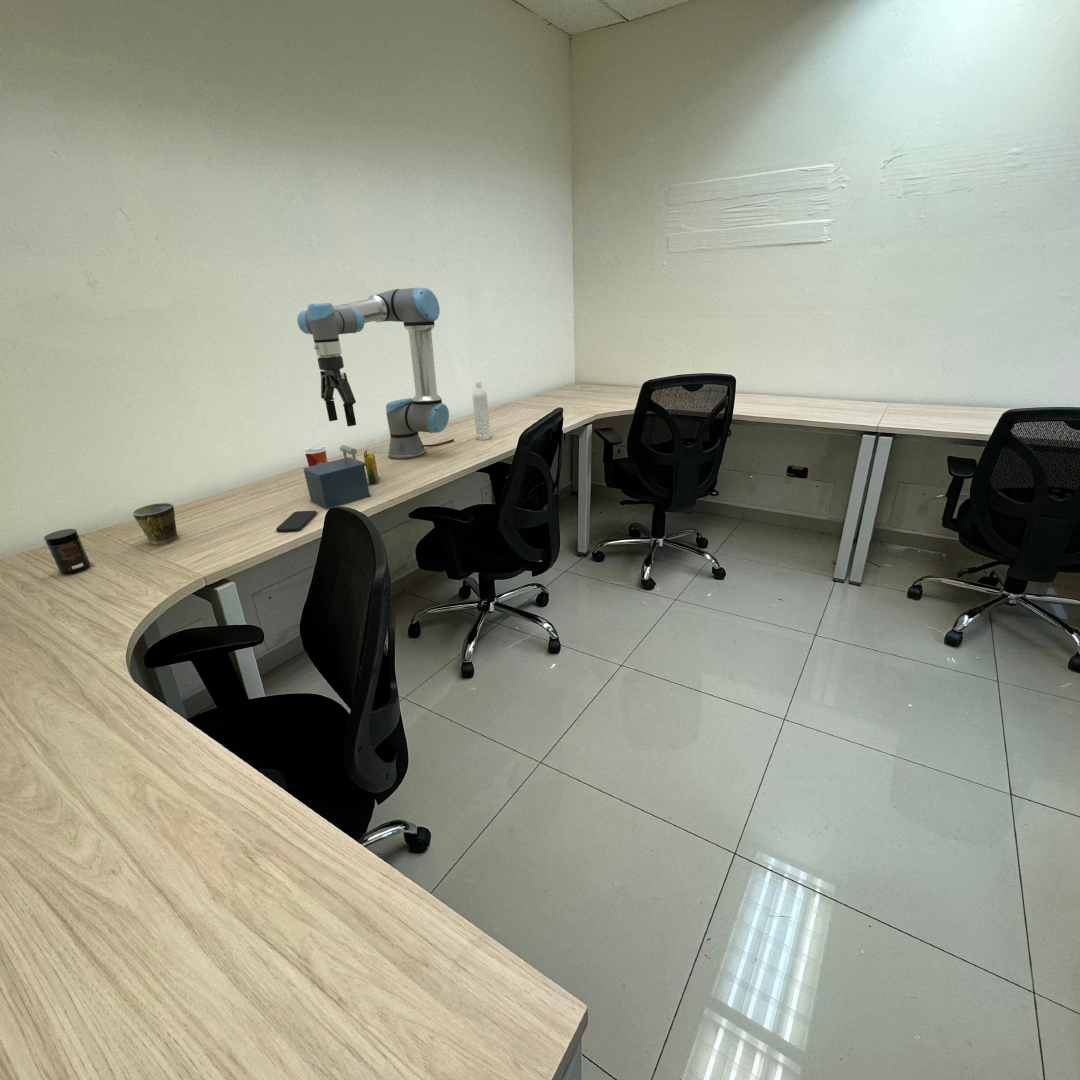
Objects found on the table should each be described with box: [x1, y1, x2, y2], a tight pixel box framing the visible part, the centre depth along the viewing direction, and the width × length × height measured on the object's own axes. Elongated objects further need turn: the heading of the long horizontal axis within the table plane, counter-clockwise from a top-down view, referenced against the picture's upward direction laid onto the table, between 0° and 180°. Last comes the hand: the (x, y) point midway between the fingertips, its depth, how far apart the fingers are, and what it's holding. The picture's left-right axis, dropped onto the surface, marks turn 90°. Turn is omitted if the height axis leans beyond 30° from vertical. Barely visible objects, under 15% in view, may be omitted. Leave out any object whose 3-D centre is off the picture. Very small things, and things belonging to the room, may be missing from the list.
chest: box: [303, 466, 371, 510], centre depth 187 cm, size 16×13×11 cm
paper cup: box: [303, 444, 328, 467], centre depth 203 cm, size 8×8×14 cm
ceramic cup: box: [132, 502, 178, 546], centre depth 160 cm, size 13×10×10 cm
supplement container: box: [43, 528, 91, 575], centre depth 146 cm, size 7×7×10 cm
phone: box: [275, 510, 317, 532], centre depth 171 cm, size 7×1×15 cm
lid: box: [302, 444, 366, 477], centre depth 184 cm, size 16×13×6 cm
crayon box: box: [363, 448, 379, 485], centre depth 203 cm, size 7×3×12 cm, turn 9°
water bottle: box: [472, 381, 492, 441], centre depth 252 cm, size 9×6×25 cm
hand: (342, 423), depth 183 cm, fingers open, 13 cm apart
